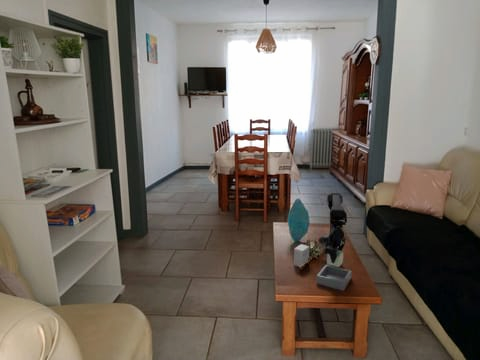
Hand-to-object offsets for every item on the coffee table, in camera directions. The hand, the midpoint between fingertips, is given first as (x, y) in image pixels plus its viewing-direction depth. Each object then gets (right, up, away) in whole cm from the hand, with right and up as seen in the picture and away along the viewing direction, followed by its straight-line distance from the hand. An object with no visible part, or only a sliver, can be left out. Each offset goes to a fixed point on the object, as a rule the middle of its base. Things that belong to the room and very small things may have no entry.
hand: (334, 260), depth 185 cm
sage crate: (0, -1, 0) cm, 2 cm away
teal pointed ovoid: (-11, +1, +52) cm, 53 cm away
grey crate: (0, -12, +3) cm, 12 cm away
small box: (-14, -7, +22) cm, 27 cm away
